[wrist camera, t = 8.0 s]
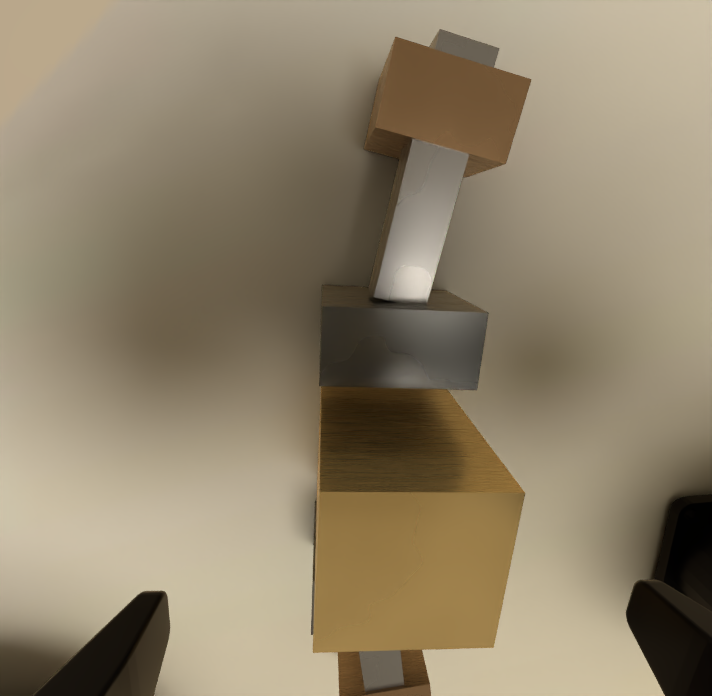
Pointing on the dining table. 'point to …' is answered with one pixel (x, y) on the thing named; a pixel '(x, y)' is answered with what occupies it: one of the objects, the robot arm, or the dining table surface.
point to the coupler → (408, 524)
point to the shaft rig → (418, 261)
